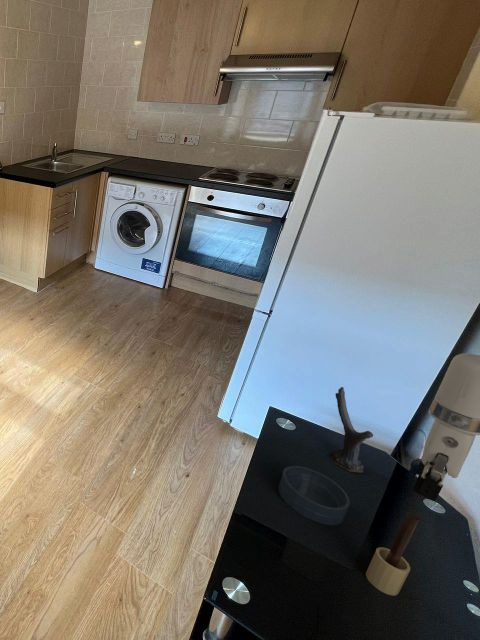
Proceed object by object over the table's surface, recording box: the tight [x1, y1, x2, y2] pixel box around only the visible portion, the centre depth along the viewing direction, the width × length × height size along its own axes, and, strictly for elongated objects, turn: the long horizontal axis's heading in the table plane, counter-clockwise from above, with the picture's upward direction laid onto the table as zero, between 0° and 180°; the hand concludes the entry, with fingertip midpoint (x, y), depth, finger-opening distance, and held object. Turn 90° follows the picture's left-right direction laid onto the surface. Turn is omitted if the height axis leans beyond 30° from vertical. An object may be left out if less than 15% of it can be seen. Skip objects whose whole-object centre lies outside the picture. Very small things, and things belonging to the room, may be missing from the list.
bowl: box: [277, 465, 351, 526], centre depth 112 cm, size 14×14×6 cm
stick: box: [385, 512, 420, 568], centre depth 89 cm, size 2×2×20 cm
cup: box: [365, 546, 411, 597], centre depth 91 cm, size 5×5×8 cm
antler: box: [330, 386, 374, 473], centre depth 124 cm, size 12×8×25 cm
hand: (426, 483), depth 84 cm, fingers open, 9 cm apart
